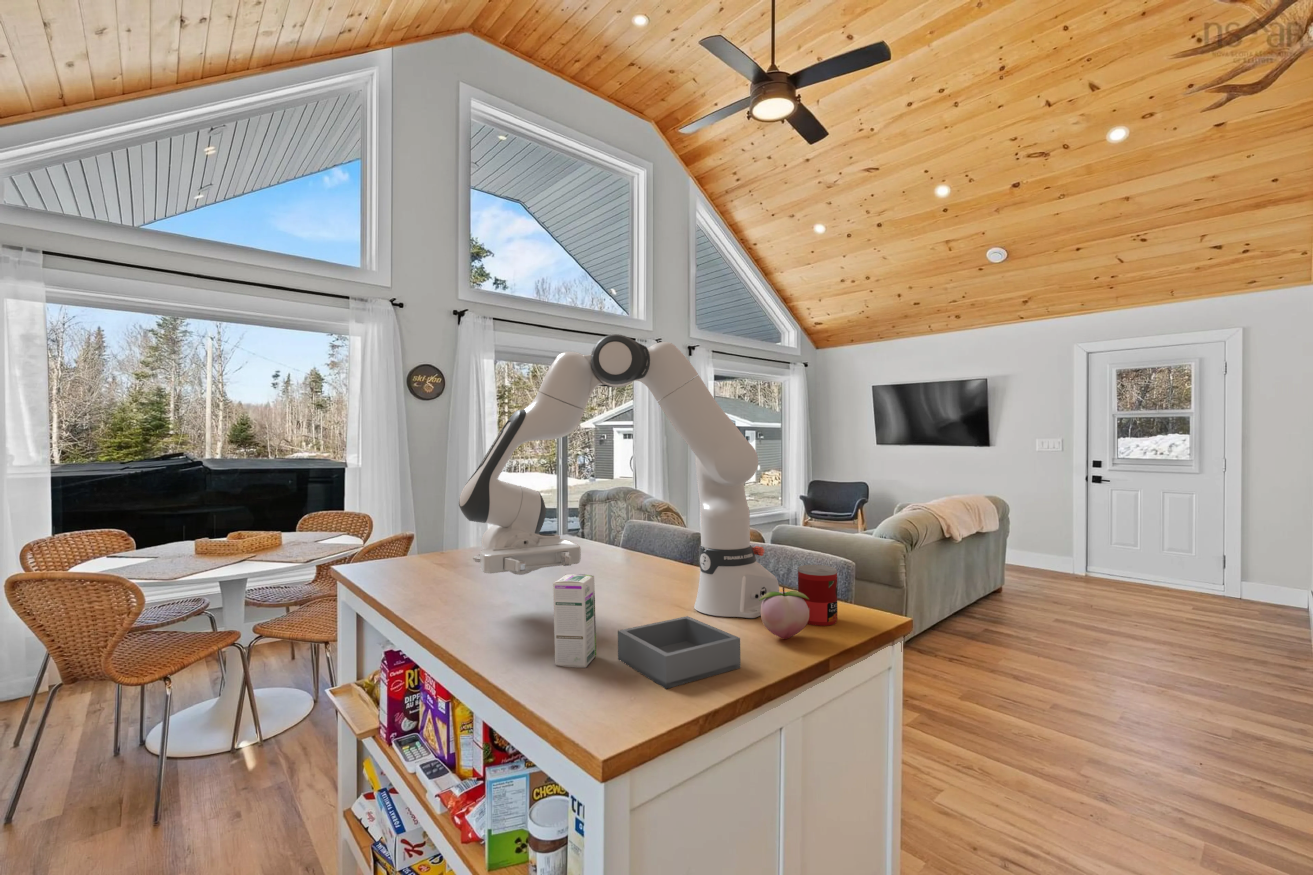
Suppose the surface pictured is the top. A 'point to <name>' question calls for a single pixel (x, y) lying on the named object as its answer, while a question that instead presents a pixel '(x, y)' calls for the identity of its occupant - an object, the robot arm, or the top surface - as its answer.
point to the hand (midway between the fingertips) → (545, 564)
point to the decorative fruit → (784, 613)
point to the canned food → (819, 593)
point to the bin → (678, 651)
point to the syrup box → (574, 620)
